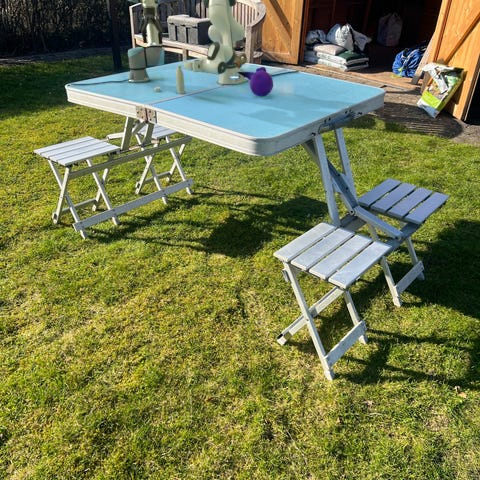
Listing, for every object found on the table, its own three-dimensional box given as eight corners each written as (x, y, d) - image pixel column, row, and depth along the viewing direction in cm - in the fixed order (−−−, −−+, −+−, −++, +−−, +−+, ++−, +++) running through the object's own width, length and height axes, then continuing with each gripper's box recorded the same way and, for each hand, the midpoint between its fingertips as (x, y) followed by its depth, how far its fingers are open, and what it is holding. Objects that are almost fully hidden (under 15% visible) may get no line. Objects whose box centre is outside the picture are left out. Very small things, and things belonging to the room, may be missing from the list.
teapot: (227, 72, 361) (226, 52, 354) (220, 70, 370) (219, 51, 362) (250, 70, 371) (249, 50, 363) (242, 68, 379) (242, 48, 372)
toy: (257, 88, 307) (273, 101, 287) (234, 84, 300) (248, 97, 279) (264, 65, 299) (280, 76, 279) (240, 59, 292) (255, 71, 271)
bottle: (184, 91, 304) (182, 64, 296) (185, 93, 300) (182, 65, 291) (177, 92, 304) (175, 64, 295) (177, 93, 300) (175, 66, 291)
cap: (154, 91, 307) (153, 88, 306) (156, 90, 310) (156, 87, 309) (159, 91, 306) (158, 88, 305) (161, 90, 309) (161, 87, 308)
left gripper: (130, 7, 286) (135, 43, 296) (159, 7, 274) (163, 45, 284) (138, 6, 291) (143, 41, 302) (168, 6, 279) (171, 43, 290)
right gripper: (217, 57, 281) (202, 55, 289) (192, 61, 268) (177, 59, 277) (217, 68, 284) (203, 65, 292) (192, 72, 271) (178, 70, 280)
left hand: (152, 43), depth 293 cm, fingers open, 13 cm apart
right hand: (190, 62), depth 284 cm, fingers open, 8 cm apart
